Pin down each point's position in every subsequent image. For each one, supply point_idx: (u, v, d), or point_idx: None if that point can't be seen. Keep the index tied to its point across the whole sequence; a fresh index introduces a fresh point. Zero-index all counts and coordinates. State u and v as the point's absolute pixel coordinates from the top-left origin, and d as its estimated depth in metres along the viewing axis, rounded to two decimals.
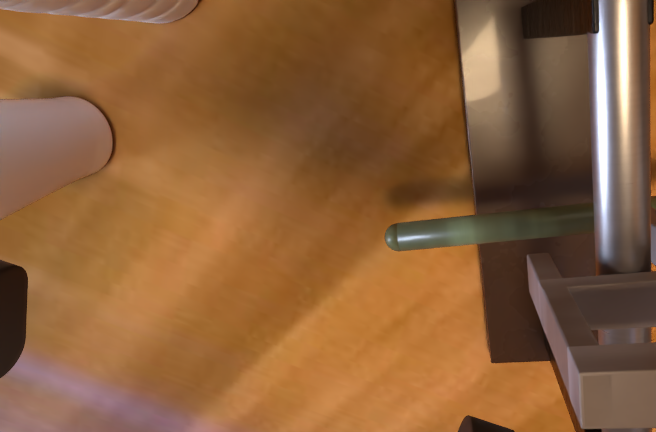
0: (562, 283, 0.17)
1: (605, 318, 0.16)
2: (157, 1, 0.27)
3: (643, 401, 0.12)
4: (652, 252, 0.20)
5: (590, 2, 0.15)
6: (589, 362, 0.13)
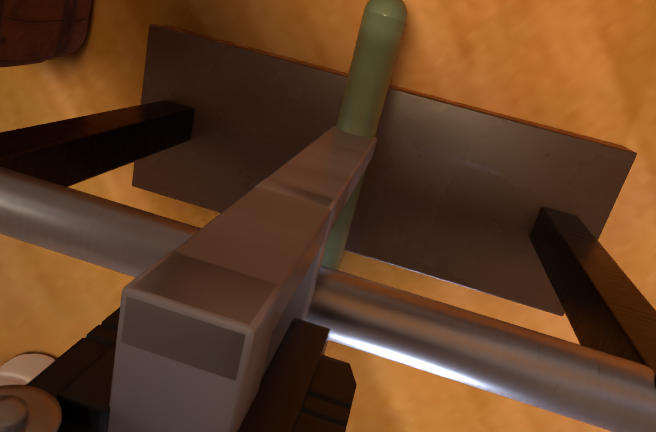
0: None
1: None
2: None
3: None
4: None
5: None
6: None
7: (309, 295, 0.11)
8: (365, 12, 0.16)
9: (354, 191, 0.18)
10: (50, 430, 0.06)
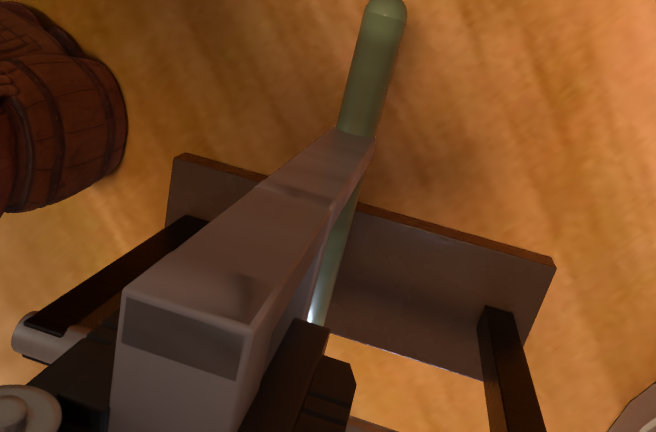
0: None
1: None
2: None
3: None
4: None
5: None
6: None
7: (309, 295, 0.11)
8: (365, 12, 0.16)
9: (354, 191, 0.18)
10: (50, 430, 0.06)
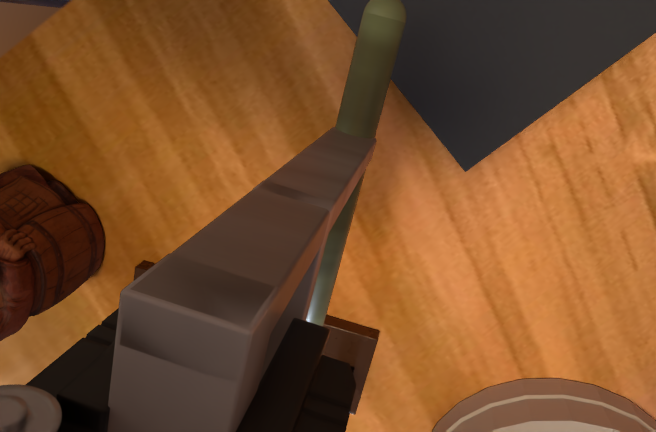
0: None
1: None
2: None
3: None
4: None
5: None
6: None
7: (308, 296, 0.11)
8: (364, 13, 0.16)
9: (353, 192, 0.18)
10: (50, 430, 0.06)
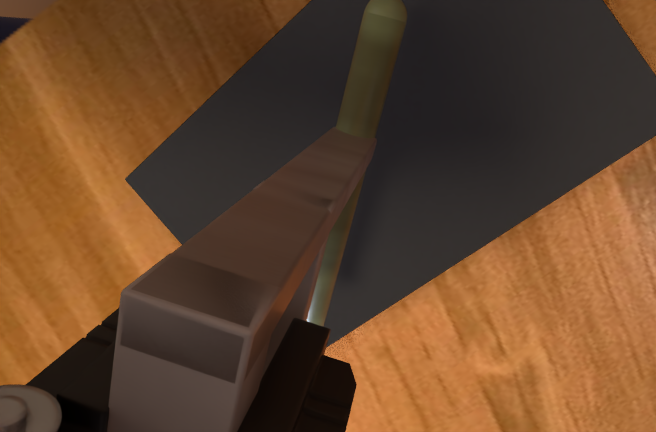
0: None
1: None
2: None
3: None
4: None
5: None
6: None
7: (309, 297, 0.11)
8: (365, 13, 0.16)
9: (354, 192, 0.18)
10: (50, 430, 0.06)
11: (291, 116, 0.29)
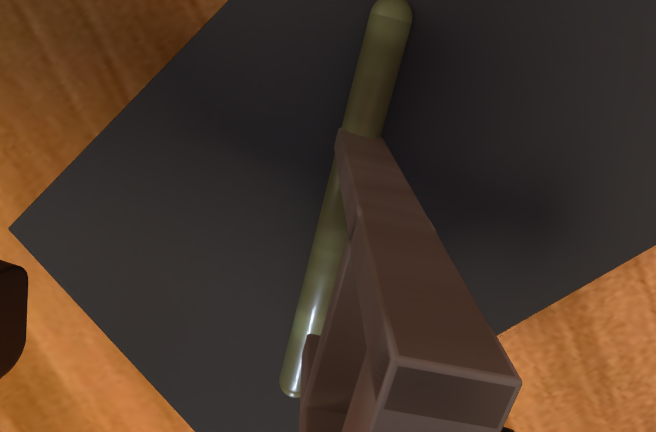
0: (304, 403, 0.12)
1: None
2: None
3: None
4: None
5: None
6: None
7: None
8: (373, 15, 0.17)
9: None
10: None
11: (227, 147, 0.20)
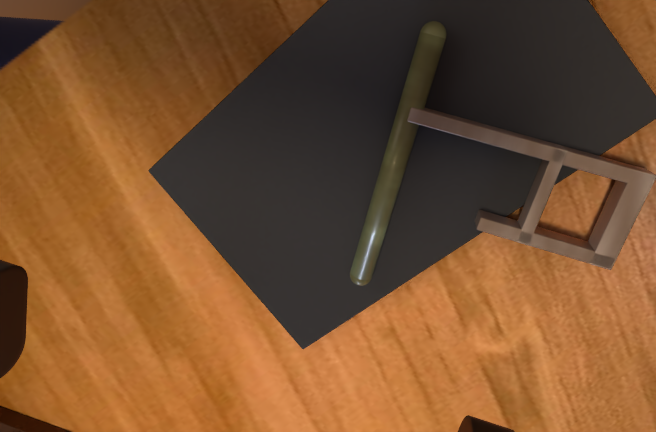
0: (528, 233, 0.29)
1: None
2: None
3: None
4: None
5: None
6: (605, 262, 0.29)
7: None
8: (439, 37, 0.27)
9: None
10: None
11: (304, 112, 0.31)
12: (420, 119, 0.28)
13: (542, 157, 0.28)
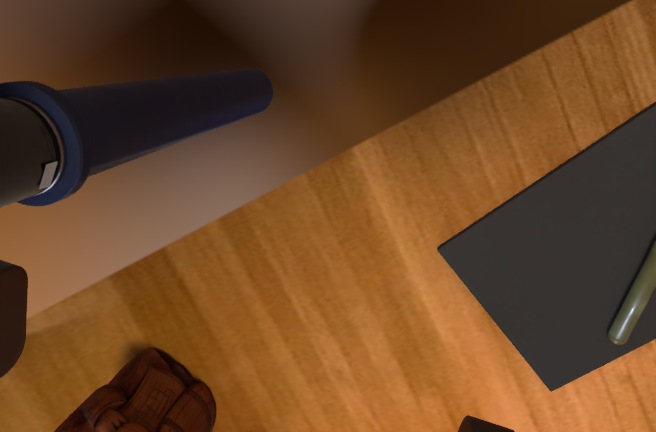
0: None
1: None
2: None
3: None
4: None
5: None
6: None
7: None
8: None
9: None
10: None
11: (584, 210, 0.40)
12: None
13: None
